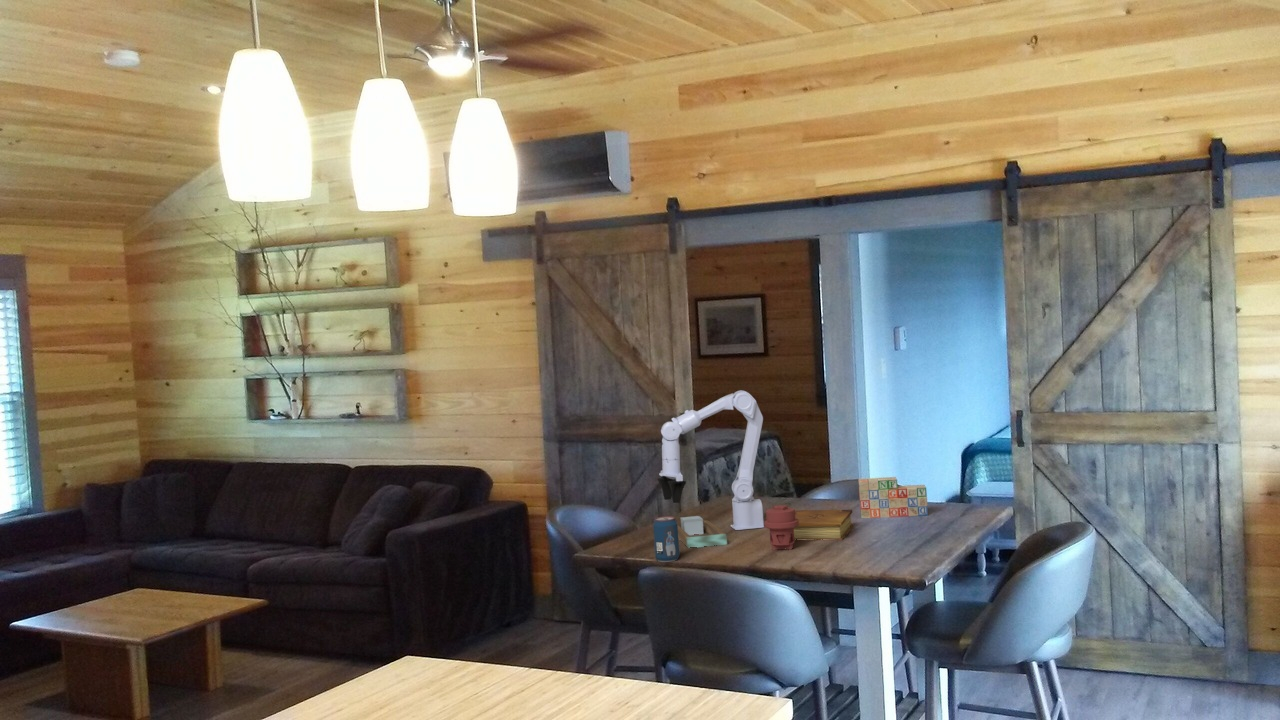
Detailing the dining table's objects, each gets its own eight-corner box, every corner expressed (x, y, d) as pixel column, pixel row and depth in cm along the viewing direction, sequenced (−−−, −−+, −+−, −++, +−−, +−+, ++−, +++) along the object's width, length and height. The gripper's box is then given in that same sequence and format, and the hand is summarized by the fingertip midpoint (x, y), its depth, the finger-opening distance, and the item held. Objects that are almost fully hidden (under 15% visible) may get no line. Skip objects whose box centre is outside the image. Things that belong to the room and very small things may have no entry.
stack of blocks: (926, 512, 370) (924, 475, 370) (928, 516, 364) (925, 478, 364) (860, 515, 374) (858, 478, 373) (860, 518, 368) (858, 481, 367)
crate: (700, 531, 365) (699, 515, 365) (703, 534, 359) (702, 518, 359) (681, 532, 364) (680, 517, 364) (684, 536, 358) (683, 520, 358)
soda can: (665, 556, 327) (662, 515, 327) (684, 558, 323) (681, 516, 323) (650, 561, 322) (647, 519, 322) (669, 563, 318) (666, 520, 317)
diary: (794, 528, 362) (793, 510, 361) (853, 527, 356) (852, 509, 355) (780, 541, 340) (778, 522, 340) (842, 541, 334) (841, 522, 334)
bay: (707, 528, 367) (707, 519, 367) (727, 544, 339) (726, 534, 339) (671, 532, 365) (670, 523, 365) (687, 548, 337) (687, 538, 337)
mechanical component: (805, 549, 324) (773, 553, 321) (792, 543, 334) (760, 547, 331) (803, 506, 324) (770, 510, 321) (789, 502, 333) (757, 505, 331)
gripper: (651, 457, 370) (652, 498, 370) (667, 462, 356) (668, 505, 356) (671, 456, 372) (672, 497, 372) (688, 460, 358) (689, 503, 359)
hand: (672, 501), depth 365 cm, fingers open, 7 cm apart
